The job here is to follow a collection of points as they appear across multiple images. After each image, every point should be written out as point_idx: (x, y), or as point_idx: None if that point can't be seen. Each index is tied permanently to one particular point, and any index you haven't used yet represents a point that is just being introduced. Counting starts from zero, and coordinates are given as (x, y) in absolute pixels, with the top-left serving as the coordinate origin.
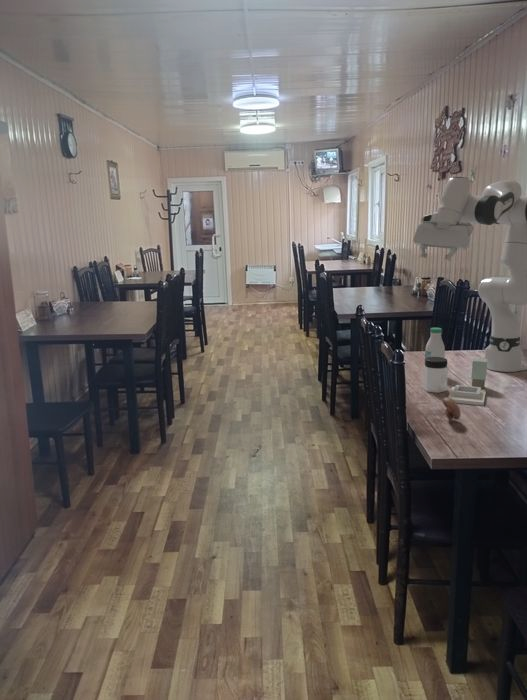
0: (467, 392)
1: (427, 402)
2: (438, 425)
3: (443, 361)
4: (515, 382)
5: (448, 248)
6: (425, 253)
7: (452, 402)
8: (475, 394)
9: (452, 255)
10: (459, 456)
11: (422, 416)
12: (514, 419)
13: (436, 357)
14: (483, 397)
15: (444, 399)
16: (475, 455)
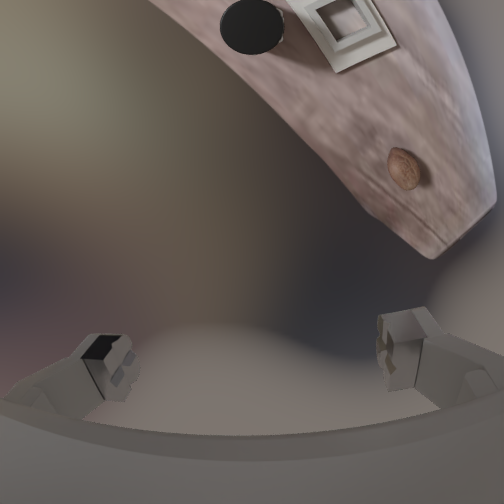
0: (359, 38)
1: (311, 103)
2: (392, 183)
3: (282, 30)
4: None
5: (384, 426)
6: (123, 388)
7: (415, 186)
8: (374, 33)
9: (458, 345)
10: (448, 242)
11: (353, 169)
12: (461, 80)
13: (237, 11)
14: (378, 15)
15: (401, 186)
16: (461, 229)
